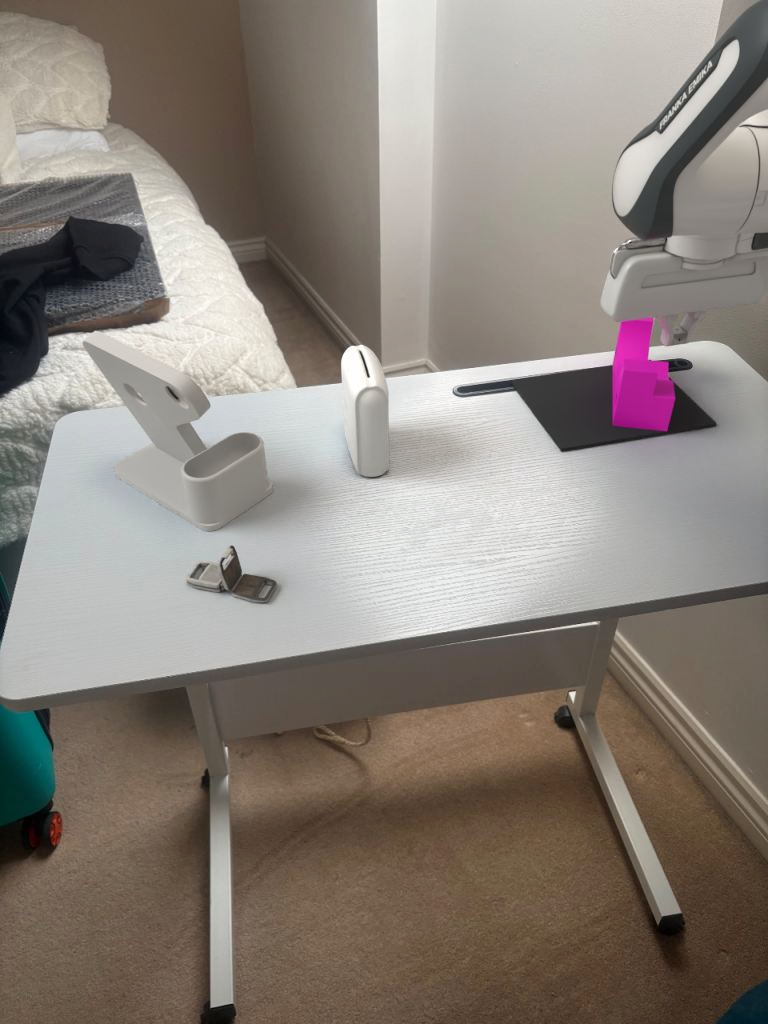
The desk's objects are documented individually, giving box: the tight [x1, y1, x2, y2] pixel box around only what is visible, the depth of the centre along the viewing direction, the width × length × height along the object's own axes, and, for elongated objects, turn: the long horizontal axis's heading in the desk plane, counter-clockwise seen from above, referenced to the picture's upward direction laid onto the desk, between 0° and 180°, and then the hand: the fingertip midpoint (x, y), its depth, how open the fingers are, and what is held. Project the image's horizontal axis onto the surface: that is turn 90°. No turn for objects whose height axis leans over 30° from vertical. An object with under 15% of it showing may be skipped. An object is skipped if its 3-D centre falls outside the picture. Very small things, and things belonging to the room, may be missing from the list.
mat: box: [510, 359, 717, 453], centre depth 103 cm, size 20×16×1 cm
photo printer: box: [340, 344, 390, 478], centre depth 92 cm, size 10×4×12 cm, turn 11°
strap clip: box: [185, 545, 278, 603], centre depth 78 cm, size 8×3×4 cm, turn 72°
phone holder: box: [82, 330, 274, 532], centre depth 86 cm, size 17×10×18 cm, turn 51°
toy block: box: [612, 317, 675, 431], centre depth 102 cm, size 15×6×8 cm, turn 168°
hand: (674, 343), depth 100 cm, fingers closed
